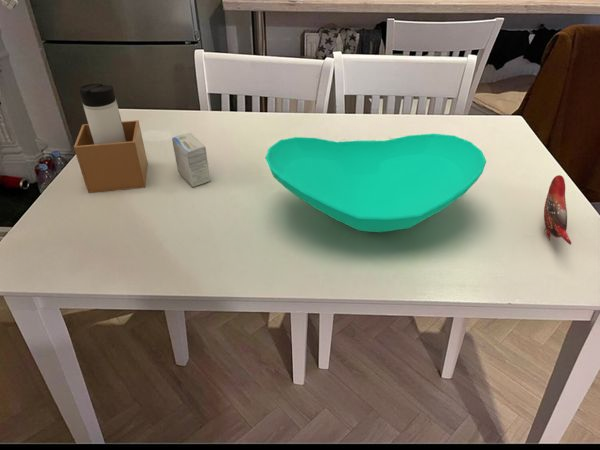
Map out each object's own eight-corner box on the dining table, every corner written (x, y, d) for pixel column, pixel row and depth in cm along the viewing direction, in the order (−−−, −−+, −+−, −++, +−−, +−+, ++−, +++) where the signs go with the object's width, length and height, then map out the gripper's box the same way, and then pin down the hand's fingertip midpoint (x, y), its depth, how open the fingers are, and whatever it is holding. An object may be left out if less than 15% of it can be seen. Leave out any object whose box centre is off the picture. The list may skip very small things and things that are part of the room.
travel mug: (96, 178, 100) (69, 88, 88) (116, 164, 105) (93, 77, 93) (120, 184, 98) (95, 92, 86) (139, 169, 103) (118, 81, 91)
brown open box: (88, 192, 96) (73, 147, 90) (95, 167, 105) (82, 124, 98) (145, 187, 98) (134, 142, 92) (147, 163, 107) (138, 120, 100)
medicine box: (211, 182, 100) (206, 146, 95) (191, 188, 98) (186, 151, 93) (195, 166, 105) (190, 131, 100) (177, 172, 103) (171, 136, 98)
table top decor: (269, 264, 79) (266, 200, 71) (266, 179, 101) (264, 123, 93) (494, 255, 82) (516, 192, 74) (444, 174, 104) (456, 118, 96)
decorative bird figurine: (548, 214, 92) (566, 170, 86) (566, 273, 78) (589, 226, 72) (533, 212, 92) (549, 168, 86) (548, 270, 79) (569, 223, 72)
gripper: (-54, -46, 84) (20, 12, 90) (-134, -27, 68) (-36, 41, 74) (-40, -75, 82) (36, -13, 88) (-119, -63, 65) (-19, 11, 71)
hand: (2, 12), depth 81 cm, fingers open, 8 cm apart
